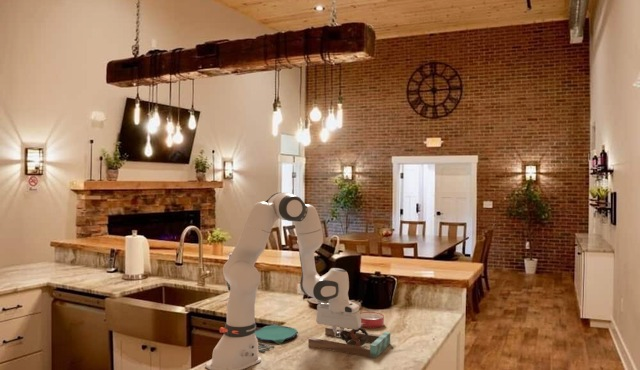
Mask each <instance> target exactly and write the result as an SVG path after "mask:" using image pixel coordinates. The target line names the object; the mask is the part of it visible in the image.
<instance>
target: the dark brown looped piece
mask: <svg viewBox="0 0 640 370" xmlns="http://www.w3.org/2000/svg"><path fill="white" fill-rule="evenodd" d="M346 330H347V329H345V330H344V331H342V332H341V333H340V336H341V337H340V338H341V339H342V340H343V341H344V342H345V344H348V343H349V341H354V342H355V344H354V345H355V346H361V347H363V346H364V345H365V344H367V343H368V333H369V332H368V331H366V330H365V329H364V327H360V328H359V329H358V330H354V329H349V330H350V331H346ZM356 332H362V333H364V334H365V335H366V337H365V338H360V340H358V338H359V337H358V336H356V335H355V333H356ZM344 335H346V337H345V336H344Z"/></svg>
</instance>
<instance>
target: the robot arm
mask: <svg viewBox="0 0 640 370" xmlns="http://www.w3.org/2000/svg"><path fill="white" fill-rule="evenodd" d="M278 220H283V221H288V222H293V224H294V228H295V234H296V238H297V245H298V251H299V261H300V268H301V278H300V284H299V287H300V290H301V291H302V293H303V294H304V295H305V296H309V297H311V298H312V299H315V300H317V301H319V302H320V303H318V304H317V305H316V310H317V311H316V323H317V324H318V325H321V326H322V325H324V326H327V327H332V329H333V331H334V333H335V336H334V337H337V338H341V336H340V333H341V332H342V331H343V330H344V329H347V328H348V329H347V330H352V329H354V330H358V329H359V328H362V327H361V315H360V313H361V312H360V311H359V310H360V305H359V304H357V303H355V302H353V301H352V300H350V299H349V289H350V281H349V280H350V279H349V274H348V272H347V270H345V269H343V268H339V267H331V268H330V269H329V270H328V272H326V273H325V274H323V275H321V276H320V274H319V273H318V272H317V268H316V262H315V252H316V251H318V249H320V247H322V245H323V243H324V234H323V233H324V231H323V227H322V222H321V220H320V216H319V214H318V211H317V209H316V207H315V206H314V205H312V204H308V203H307V204H306V203H305V202H304V201H303V199H301V197H299V196H298V195H296V194H292V193H290V192H277V193H274V194H272V195H270V196H269V198H268V199H267V200H266V201H258V202H255V203H254V204H253V205H252V207H251V209H250V211H249V212H248V214H247V217H246V220H244V221H245V222H244V224H243V226H242V230H241V233H240V235H239V236H238V237H239V238H238V240H237V243H236V245H235V247H234V249H233V250H232V251H231V254H230V255H229V257H228V259H227V261H226V262H225V263H224V265H223V266H222V275H223V278H224V280H225V281H226V282H227V283H228V284H229V287H230V288H229V296H228V300H227V302H226V322H225V325H224V327H223V326H222V327H220V328H219V333H221V334H222V333H223V335H222V336H221V338H220V339H219V341H218V342H217V344H216V345H215V347H214V348H213V349H212V350H213V351H212V354H211V355H212V357H211V359H210V360H209V361H207V362H206V363H205V368H207V369H208V370H245V369H247V368H249V367H252V366H253V365H257V364H258V363H261V361H262V357H260V354H259V353H260V352H259V351H258V349H259V347H258V346H259V344H258V343H259V342H258V341H259V339H257V338H256V335H255V331H256V330H257V323H256V321H255V315H256V314H255V311H256V309H255V308H256V298H257V293H258V288H259V286H260V284H261V279H262V278H261V274H260V272H259V271H258V269H257V267H255V265H256V263H257V261H258V259H259V258H260V256H261V255H262V254H264V252H265V249H266V246H267V244H268V240H269V239H270V235H271V233H272V229H273V226H274V224H275V223H276V221H278ZM325 301H328V303H324V302H325ZM336 328H339V329H340V330H341V331H340V332H338V331H337V329H336Z"/></svg>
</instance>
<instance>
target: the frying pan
mask: <svg viewBox="0 0 640 370" xmlns="http://www.w3.org/2000/svg"><path fill="white" fill-rule="evenodd" d="M360 315H361V327H360V328H363V329H364V328H366V329H379V328H382V327H383V326H384V324H385V320H384V315H383V314H382V313H380V312H376V311H362V312H360ZM346 330H349V329H348V328H346Z"/></svg>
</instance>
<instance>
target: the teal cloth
mask: <svg viewBox="0 0 640 370" xmlns="http://www.w3.org/2000/svg"><path fill="white" fill-rule="evenodd" d="M298 333H299V332H298V330H297V329H296V328H294V327H291V326H285V325H279V324H271V325H266V326H263V327H260V328H259V329H257V328H256V331H255V335H256V338H257V340H258V341H259V340H260V341H263V342H258V352H259V353H266V350H270V349H271V348H273V349H274V348H275V346H274V345H270V344H265V343H264V342H272V343H273V342H274V343H276V344H278V343H281V344H282V343H283V342H284V341H288V340H290V339H293V338H294V337H296V336H297V334H298ZM278 345H279V344H278ZM261 348H262V349H261Z"/></svg>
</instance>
